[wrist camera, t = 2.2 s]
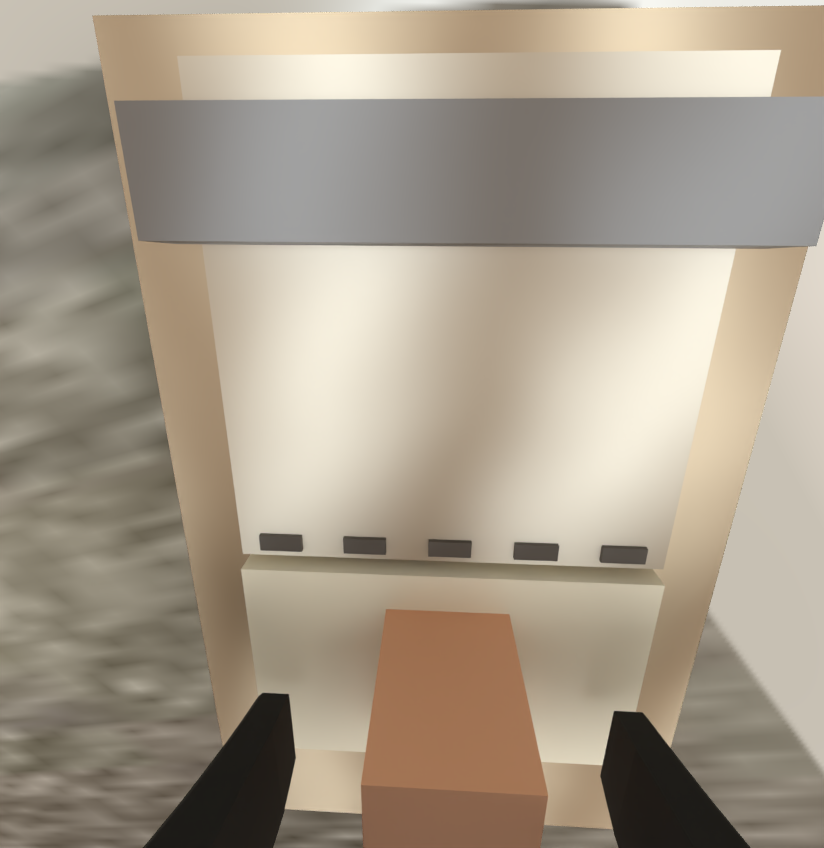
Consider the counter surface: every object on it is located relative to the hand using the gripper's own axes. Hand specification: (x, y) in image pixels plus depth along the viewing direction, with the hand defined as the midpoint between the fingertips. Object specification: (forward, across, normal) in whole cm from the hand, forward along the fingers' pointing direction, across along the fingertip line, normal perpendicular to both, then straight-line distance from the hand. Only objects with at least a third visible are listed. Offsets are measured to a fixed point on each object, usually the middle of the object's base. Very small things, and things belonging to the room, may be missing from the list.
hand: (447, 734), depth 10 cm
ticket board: (+4, 0, -3) cm, 5 cm away
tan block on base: (+3, 0, 0) cm, 3 cm away
